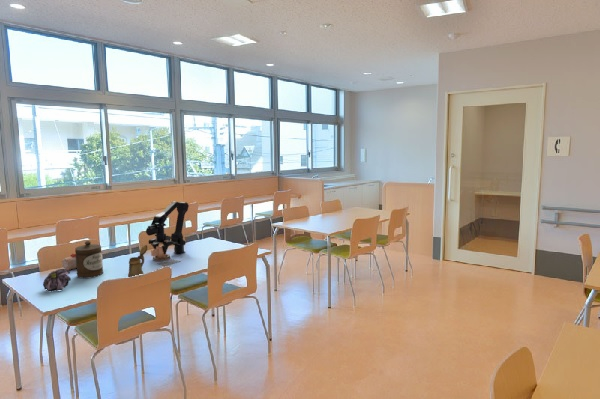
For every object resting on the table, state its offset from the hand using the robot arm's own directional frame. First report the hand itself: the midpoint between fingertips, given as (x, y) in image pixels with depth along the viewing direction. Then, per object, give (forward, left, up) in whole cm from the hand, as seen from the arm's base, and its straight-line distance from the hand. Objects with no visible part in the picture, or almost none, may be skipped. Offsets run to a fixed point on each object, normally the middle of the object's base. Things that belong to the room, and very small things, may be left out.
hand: (161, 253), depth 291 cm
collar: (0, 0, -4) cm, 4 cm away
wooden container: (+48, -7, -4) cm, 49 cm away
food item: (+47, -30, -4) cm, 56 cm away
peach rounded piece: (+2, 0, -4) cm, 4 cm away
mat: (+3, +13, -4) cm, 14 cm away
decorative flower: (+72, +3, -4) cm, 72 cm away
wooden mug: (+30, +19, -4) cm, 36 cm away
